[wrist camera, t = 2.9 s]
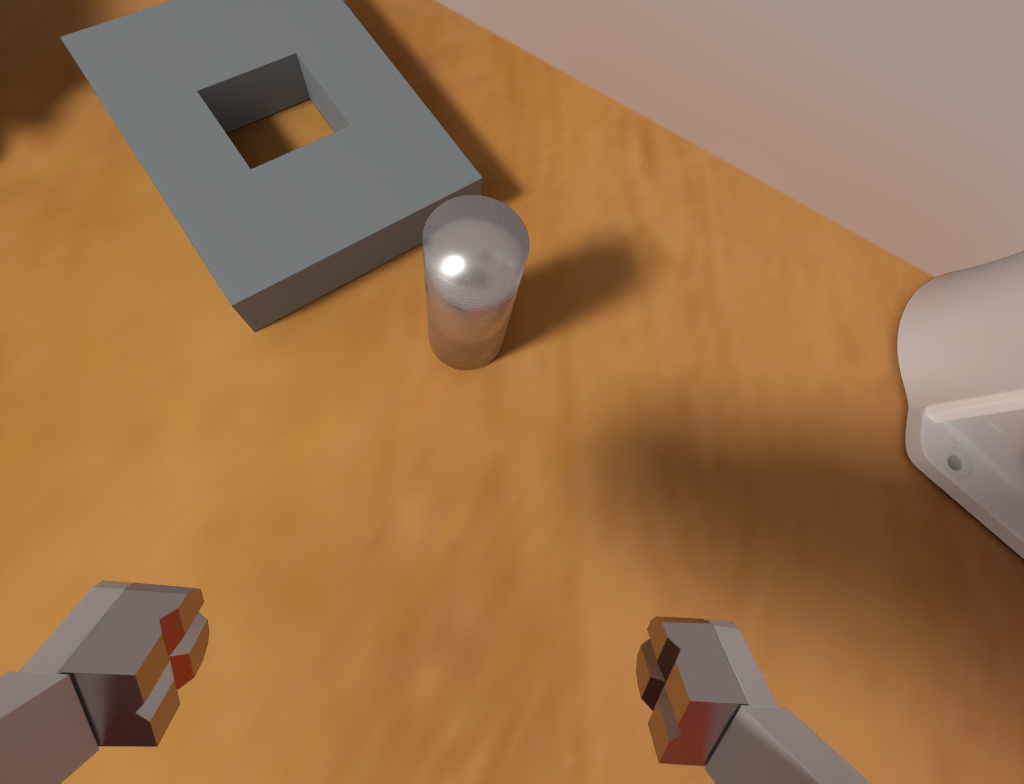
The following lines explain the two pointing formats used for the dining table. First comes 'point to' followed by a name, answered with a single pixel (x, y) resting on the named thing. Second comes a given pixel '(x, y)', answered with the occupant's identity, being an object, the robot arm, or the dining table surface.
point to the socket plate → (291, 177)
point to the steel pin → (472, 277)
